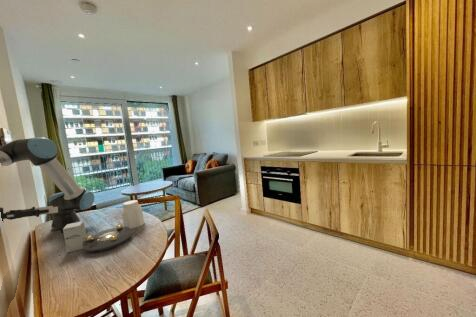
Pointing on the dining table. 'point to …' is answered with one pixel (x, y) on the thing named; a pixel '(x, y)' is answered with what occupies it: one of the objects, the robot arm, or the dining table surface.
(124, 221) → the jar
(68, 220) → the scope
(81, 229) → the supplement box
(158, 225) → the dining table surface
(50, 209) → the robot arm
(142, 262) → the dining table surface
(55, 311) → the dining table surface
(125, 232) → the base
